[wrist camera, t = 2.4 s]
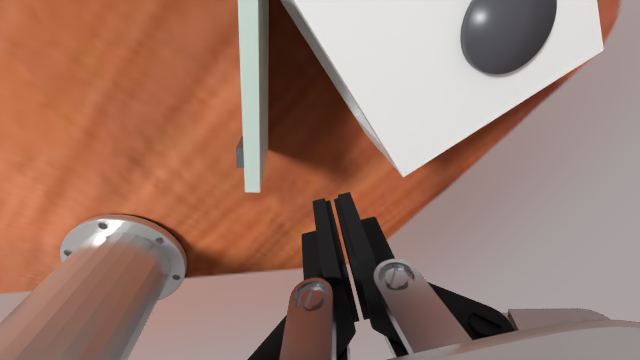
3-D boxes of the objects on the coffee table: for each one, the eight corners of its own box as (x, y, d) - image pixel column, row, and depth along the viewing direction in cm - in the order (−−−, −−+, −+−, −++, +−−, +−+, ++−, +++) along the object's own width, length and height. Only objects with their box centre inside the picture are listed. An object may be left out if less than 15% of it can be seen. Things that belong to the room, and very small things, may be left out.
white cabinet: (366, 134, 28) (406, 181, 18) (263, -25, 21) (245, -81, 12) (492, 48, 25) (614, 50, 16) (422, -165, 19) (562, -381, 9)
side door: (247, 146, 27) (229, 191, 18) (242, -14, 21) (214, -51, 13) (268, 147, 27) (259, 192, 19) (268, -11, 21) (257, -45, 13)
